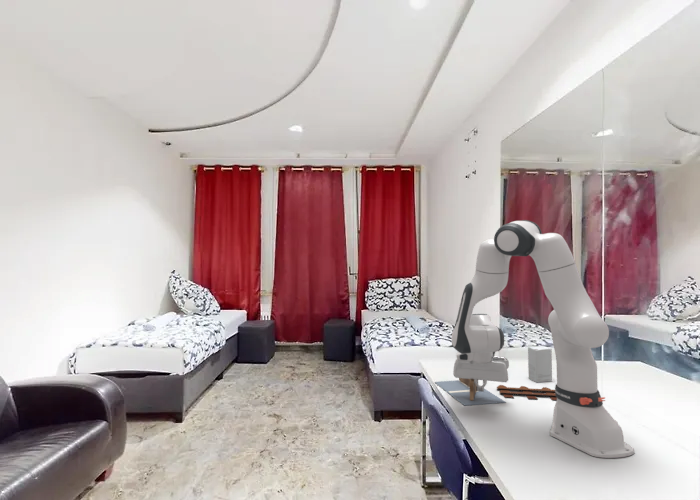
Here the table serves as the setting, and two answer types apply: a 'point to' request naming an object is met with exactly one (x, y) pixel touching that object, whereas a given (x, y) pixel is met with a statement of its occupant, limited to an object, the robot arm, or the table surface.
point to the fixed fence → (466, 381)
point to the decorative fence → (527, 392)
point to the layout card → (468, 393)
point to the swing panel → (472, 389)
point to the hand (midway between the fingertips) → (480, 391)
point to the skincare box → (540, 364)
